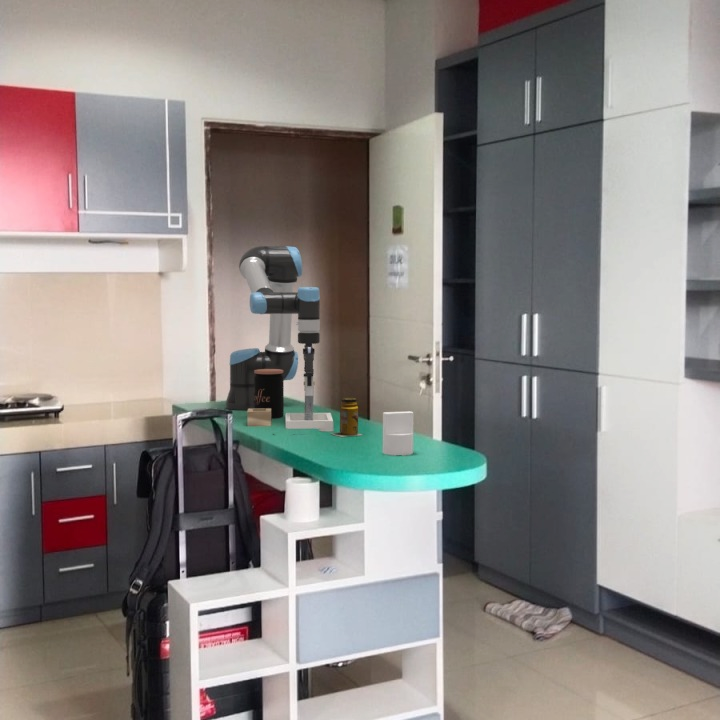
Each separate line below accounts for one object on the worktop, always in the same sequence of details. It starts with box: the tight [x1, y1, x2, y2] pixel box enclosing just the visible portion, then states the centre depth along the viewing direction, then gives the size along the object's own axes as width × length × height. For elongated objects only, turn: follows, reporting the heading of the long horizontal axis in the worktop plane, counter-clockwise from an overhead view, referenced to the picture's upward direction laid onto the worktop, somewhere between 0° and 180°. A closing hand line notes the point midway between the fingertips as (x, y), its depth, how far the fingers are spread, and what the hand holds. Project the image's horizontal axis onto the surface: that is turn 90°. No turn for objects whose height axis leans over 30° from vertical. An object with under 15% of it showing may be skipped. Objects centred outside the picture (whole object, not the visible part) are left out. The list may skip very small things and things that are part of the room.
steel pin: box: [303, 380, 316, 420], centre depth 329 cm, size 4×4×15 cm
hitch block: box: [246, 408, 272, 427], centre depth 328 cm, size 8×8×6 cm
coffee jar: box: [254, 369, 285, 420], centre depth 347 cm, size 11×11×18 cm
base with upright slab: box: [382, 410, 414, 456], centre depth 281 cm, size 9×9×12 cm
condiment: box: [330, 397, 363, 438], centre depth 314 cm, size 7×8×12 cm
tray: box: [284, 412, 334, 432], centre depth 330 cm, size 20×16×4 cm
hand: (308, 393), depth 329 cm, fingers open, 13 cm apart
